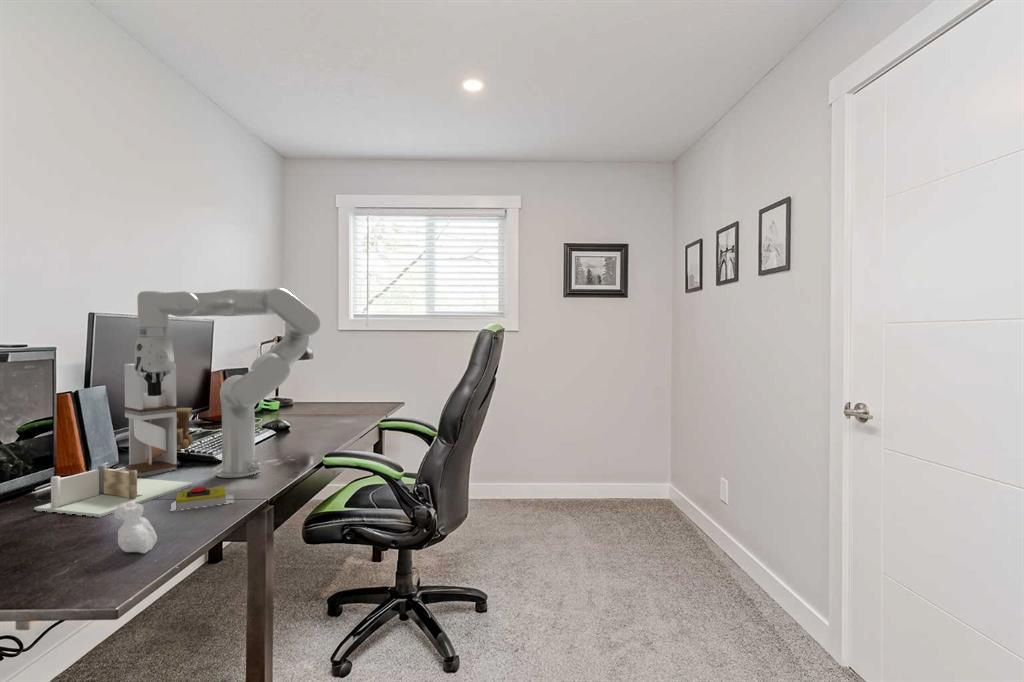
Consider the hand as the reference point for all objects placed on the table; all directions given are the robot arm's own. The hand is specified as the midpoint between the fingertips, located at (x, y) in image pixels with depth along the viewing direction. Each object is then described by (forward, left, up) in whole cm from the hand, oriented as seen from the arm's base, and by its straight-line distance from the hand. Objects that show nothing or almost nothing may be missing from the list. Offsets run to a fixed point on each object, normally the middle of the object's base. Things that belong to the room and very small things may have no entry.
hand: (154, 395), depth 162 cm
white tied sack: (-37, +40, -27) cm, 61 cm away
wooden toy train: (+26, -33, -27) cm, 50 cm away
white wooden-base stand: (+16, -14, -27) cm, 35 cm away
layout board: (0, +11, -27) cm, 29 cm away
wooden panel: (-2, +13, -26) cm, 29 cm away
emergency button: (-26, +10, -28) cm, 39 cm away
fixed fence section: (+5, +18, -26) cm, 32 cm away
